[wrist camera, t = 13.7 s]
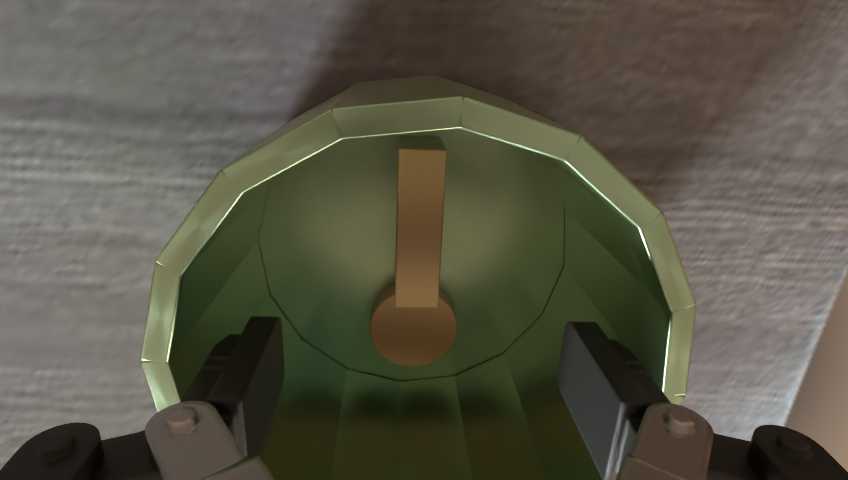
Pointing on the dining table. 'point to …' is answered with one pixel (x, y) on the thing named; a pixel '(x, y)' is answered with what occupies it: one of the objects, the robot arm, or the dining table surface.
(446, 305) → the spoon
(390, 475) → the tin
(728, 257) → the dining table surface
